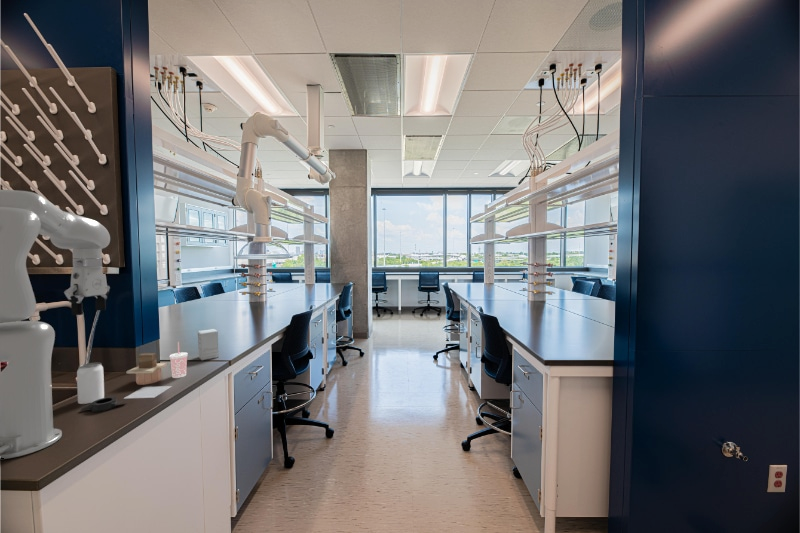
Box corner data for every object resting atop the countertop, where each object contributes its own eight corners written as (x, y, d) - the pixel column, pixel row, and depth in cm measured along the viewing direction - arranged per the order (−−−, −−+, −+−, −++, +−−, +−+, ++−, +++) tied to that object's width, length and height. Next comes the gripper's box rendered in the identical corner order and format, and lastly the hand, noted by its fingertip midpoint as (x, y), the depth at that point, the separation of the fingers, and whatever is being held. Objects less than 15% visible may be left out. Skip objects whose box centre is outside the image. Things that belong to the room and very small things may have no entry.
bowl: (152, 385, 125) (152, 372, 125) (131, 386, 125) (130, 372, 125) (165, 378, 133) (165, 365, 133) (145, 378, 132) (145, 366, 132)
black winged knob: (102, 403, 111) (102, 395, 111) (129, 405, 109) (129, 396, 109) (77, 414, 103) (77, 405, 103) (106, 416, 102) (106, 407, 102)
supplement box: (215, 354, 165) (214, 328, 165) (218, 357, 160) (218, 330, 159) (198, 357, 161) (197, 330, 160) (200, 360, 155) (200, 333, 155)
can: (88, 405, 109) (87, 368, 108) (72, 404, 110) (71, 367, 109) (109, 397, 115) (108, 362, 114) (94, 396, 116) (92, 361, 116)
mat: (154, 398, 114) (154, 397, 114) (123, 399, 113) (123, 398, 113) (172, 387, 124) (172, 386, 124) (143, 388, 123) (143, 386, 123)
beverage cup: (167, 380, 131) (166, 344, 130) (173, 374, 137) (172, 340, 136) (185, 378, 132) (184, 343, 132) (190, 373, 138) (189, 339, 138)
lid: (152, 372, 124) (151, 357, 124) (126, 373, 124) (126, 357, 124) (167, 365, 133) (167, 350, 133) (144, 365, 133) (143, 350, 133)
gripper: (77, 264, 110) (79, 316, 111) (118, 263, 127) (119, 308, 128) (52, 264, 110) (54, 317, 110) (96, 263, 127) (98, 308, 127)
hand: (89, 312), depth 119 cm, fingers open, 9 cm apart
